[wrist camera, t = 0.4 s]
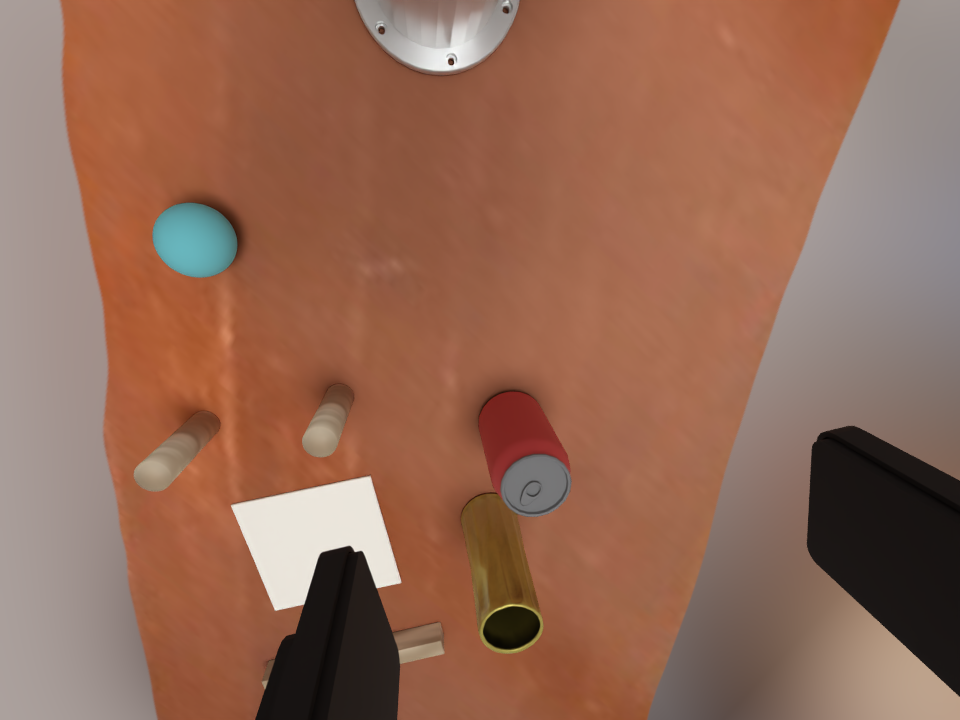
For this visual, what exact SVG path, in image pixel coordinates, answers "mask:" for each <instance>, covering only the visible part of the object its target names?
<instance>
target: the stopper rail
mask: <svg viewBox="0 0 960 720" xmlns="http://www.w3.org/2000/svg"><path fill="white" fill-rule="evenodd" d="M393 636H394V638H395V641H396V644H397V647H398V652H399V658H400V664H402V663H406V662H410V661H415V660H419V659H424V658H428V657H432V656H437V655H441V654H444V634H443V630H442V627H441V623H440V622H438V623H433V624H429V625H424V626H420V627H416V628H411V629H407V630H402V631H398V632H394V633H393ZM274 661H275V659H274V660H270V661H269V662H268V665H267V668H266V671H265V674H264V676H263V679H262V684H263V686H264V688H266V685H267V682H268V679H269V676H270V673H271V670H272V667H273V664H274Z"/></svg>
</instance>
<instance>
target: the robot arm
mask: <svg viewBox="0 0 960 720" xmlns="http://www.w3.org/2000/svg"><path fill="white" fill-rule="evenodd" d="M519 1H520V0H355V3H356V6H357V9H358V11H359V14H360V16H361V19H362V21H363V22H364V24H365V26H366V27H367V29H368V31H369V32H370V34H371V36H372V37H373V38H374V39H375V41H376V42H377V43H378V44H379V45H380V47H381V48H382V49H383V50H384V51H385V52H386V53H388V54H389V55H390V56H391V57H392V58H394V59H395V60H396V61H397V62H399V63H401V64H403V65H405V66H406V67H408V68H410V69H412V70H415V71H418V72H422V73H425V74H431V75H441V76H442V75H451V74H458V73H460V72H463V71H466V70H469V69H472V68H473V67H475V66H477V65H478V64H480V63H481V62H483V61H485V60H486V59H487V58H488V57H489V56H490V55H491V54H492V53H493V52H494V51H495V50H496V49H497V48H498V46H499V45H500V44H501V42H502V41H503V40H504V38H505V37H506V35H507V33H508V31H509V29H510V27H511V25H512V23H513V20H514V18H515V16H516V13H517V10H518V6H519ZM503 8H507V9H508V11H509V12H508V14H505V13H504V12H503V11H502V10H503ZM381 28H383V29H384V30H385V33H384V34H383V35H382V34H380V33H379V29H381ZM450 59H451V60H453V61H454V65H452V66H450V65H449V64H448V60H450ZM807 547H808V551H809V553H810V555H811V557H812V559H813V560H814V561H815V562H816V564H817V565H819V566H820V567H821V568H822V569H823V570H824V571H825V572H826V573H827V574H828V575H829V576H830V577H831V578H832V579H834V580H835V581H836V582H837V583H838V584H839V585H840V586H841V587H842V588H843V589H844V590H845V591H847V592H848V593H849V594H850V595H851V596H852V597H853V598H854V599H855V600H856V601H857V602H858V603H859V604H861V605H862V606H863V607H864V608H865V609H866V610H867V611H868V612H869V613H870V614H871V615H872V616H873V617H874V618H876V619H877V620H878V621H879V622H880V623H881V624H882V625H883V626H884V627H885V628H886V629H887V630H888V631H889V632H891V633H892V634H893V635H894V636H895V637H896V638H897V639H898V640H899V641H900V642H901V643H903V645H905V646H906V647H907V648H908V649H909V650H910V651H911V652H912V653H913V654H914V655H915V656H916V657H918V658H919V659H920V660H921V661H922V662H923V663H924V664H925V665H926V666H927V667H928V668H929V669H931V670H932V671H933V672H934V673H935V674H936V675H937V676H938V677H939V678H940V679H941V680H942V681H943V682H944V683H946V684H947V685H948V686H949V687H950V688H951V689H952V690H953V691H954V692H955V693H956V694H958V695H959V696H960V481H959V480H957V479H955V478H954V477H951V476H950V475H948V474H946V473H944V472H942V471H940V470H938V469H937V468H935V467H933V466H931V465H929V464H927V463H925V462H923V461H921V460H919V459H917V458H916V457H914V456H911V455H910V454H908V453H906V452H904V451H902V450H900V449H898V448H897V447H894V446H893V445H891V444H889V443H887V442H885V441H883V440H881V439H879V438H877V437H875V436H874V435H872V434H870V433H868V432H866V431H864V430H862V429H860V428H858V427H855V426H846V427H842V428H838V429H834V430H830V431H826V432H823V433H821V434H820V435H819V436H818V438H817V441H816V442H814V444H813V446H812V456H811V475H810V495H809V515H808V533H807ZM399 676H400V658H399V652H398V647H397V644H396V641H395V638H394V636H393V633H392V630H391V627H390V624H389V622H388V619H387V616H386V613H385V611H384V608H383V605H382V602H381V599H380V597H379V594H378V591H377V588H376V585H375V583H374V580H373V577H372V574H371V571H370V569H369V566H368V563H367V560H366V557H365V555H364V553H363V552H362V551H357V552H355V551H354V549H353V548H352V547H351V546H345V547H341V548H337V549H333V550H329V551H324V552H322V553H321V554H320V555H319V557H318V560H317V564H316V567H315V570H314V574H313V577H312V580H311V584H310V587H309V590H308V594H307V597H306V600H305V604H304V607H303V610H302V614H301V617H300V620H299V624H298V627H297V630H296V634H292V635H288V636H286V637H285V638H284V639H283V640H282V642H281V645H280V647H279V649H278V652H277V655H276V658H275V661H274V664H273V667H272V670H271V673H270V676H269V679H268V682H267V685H266V688H265V691H264V695H263V698H262V701H261V704H260V707H259V710H258V713H257V716H256V719H255V720H397V712H398V694H399Z"/></svg>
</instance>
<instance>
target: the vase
mask: <svg viewBox="0 0 960 720" xmlns="http://www.w3.org/2000/svg"><path fill="white" fill-rule="evenodd" d="M461 524H462V527H463V532H464V537H465V542H466V548H467V553H468V558H469V563H470V567H471V574H472V583H473V591H474V598H475V607H476V616H477V625H478V631H479V635H480V637H481V640H482V642H483V643H484V644H485V645H486V646H487V647H488V648H489V649H491V650H493V651H495V652H498V653H506V654H509V653H517V652H520V651H523V650H525V649H527V648H528V647H530V646H531V645H533V644H534V643H535V642H536V641H537V640H538V639H539V637H540V636H541V634H542V631H543V619H542V616H541V612H540V608H539V605H538V601H537V596H536V592H535V588H534V585H533V581H532V577H531V574H530V570H529V566H528V562H527V558H526V554H525V550H524V545H523V541H522V536H521V531H520V526H519V523H518V519H517V514H516V513H515V512H513V511H512V510H510V509H509V508H508V507H507V505H506V504H505V503H504V501H503V500H502V499H501V497H500V496H499V495H498V494H483V495H480V496H478V497H476V498H474V499H473V500H471V501H470V502H469V503H468V504H467V505H466V507H465V508H464V510H463V512H462V516H461Z"/></svg>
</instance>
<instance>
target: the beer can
mask: <svg viewBox="0 0 960 720" xmlns="http://www.w3.org/2000/svg"><path fill="white" fill-rule="evenodd" d="M478 426H479V431H480V435H481V439H482V443H483V448H484V452H485V456H486V460H487V465H488V469H489V473H490V477H491V481H492V485H493V488H494V489H495V490H496V492H497V493H498V495H499V496H500V497H501V499H502V500H503V501H504V503H505V504H506V505H507V507H508V508H509V509H510V510H512V511H513V512H515V513H516V514H519V515H523V516H526V517H538V516H542V515H545V514H549V513H550V512H552V511H554V510H555V509H557V508H558V507H559V506H560V505H561V504H562V503H563V502H564V501H565V500H566V498H567V496H568V494H569V492H570V488H571V482H572V481H571V477H570V464H569V460H568V455H567V453H566V452H565V450H564V448H563V446H562V444H561V443H560V441H559V439H558V437H557V436H556V434H555V432H554V430H553V428H552V427H551V425H550V423H549V421H548V419H547V418H546V416H545V414H544V412H543V411H542V409H541V407H540V406H539V404H538V403H537V401H536V400H535V399H533V398H532V397H531V396H529V395H527V394H524V393H521V392H506V393H502V394H499V395H497V396H495V397H494V398H492V399H491V400H489V402H488V403H487V404H486V405H485V406H484V407H483V409H482V411H481V414H480V416H479V425H478Z"/></svg>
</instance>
